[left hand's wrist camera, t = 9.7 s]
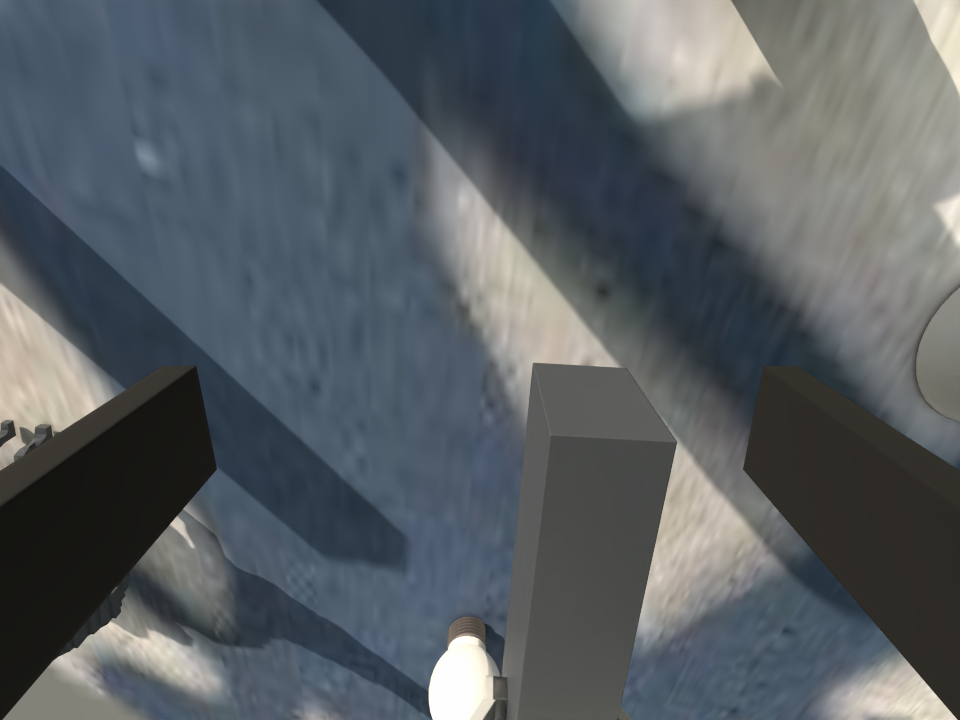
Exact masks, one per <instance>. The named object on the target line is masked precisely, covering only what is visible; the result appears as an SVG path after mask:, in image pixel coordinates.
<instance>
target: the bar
mask: <svg viewBox="0 0 960 720" xmlns="http://www.w3.org/2000/svg"><path fill="white" fill-rule="evenodd" d="M676 444H677V441H676V439H675V438H674V437H673V435H672V434H671V432H670V431H669V429H668V428H667V426H666V425H665V423H664V422H663V421H662V419H661V418H660V416H659V415H658V413H657V412H656V410H655V409H654V407H653V406H652V404H651V403H650V402H649V400H648V399H647V397H646V396H645V394H644V393H643V391H642V390H641V388H640V387H639V386H638V384H637V383H636V381H635V380H634V378H633V377H632V375H631V374H630V372H629V371H628V369H627V368H613V367H596V366H579V365H562V364H544V363H533V368H532V378H531V388H530V398H529V408H528V418H527V428H526V438H525V448H524V458H523V468H522V478H521V488H520V498H519V508H518V518H517V528H516V537H515V547H514V557H513V567H512V577H511V587H510V597H509V607H508V617H507V627H506V637H505V647H504V657H503V667H502V677H507V683H508V685H507V688H508V707H507V716H506V720H618V715H619V711H620V706H621V701H622V697H623V692H624V687H625V683H626V678H627V673H628V669H629V664H630V659H631V655H632V650H633V645H634V641H635V636H636V631H637V627H638V622H639V617H640V613H641V608H642V603H643V599H644V594H645V589H646V585H647V580H648V575H649V571H650V566H651V561H652V557H653V552H654V547H655V542H656V538H657V533H658V528H659V524H660V519H661V514H662V510H663V505H664V500H665V496H666V491H667V486H668V482H669V477H670V472H671V468H672V463H673V458H674V454H675V449H676Z"/></svg>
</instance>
